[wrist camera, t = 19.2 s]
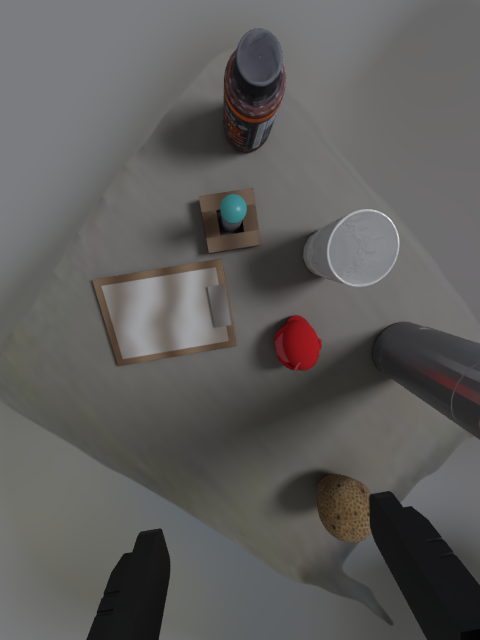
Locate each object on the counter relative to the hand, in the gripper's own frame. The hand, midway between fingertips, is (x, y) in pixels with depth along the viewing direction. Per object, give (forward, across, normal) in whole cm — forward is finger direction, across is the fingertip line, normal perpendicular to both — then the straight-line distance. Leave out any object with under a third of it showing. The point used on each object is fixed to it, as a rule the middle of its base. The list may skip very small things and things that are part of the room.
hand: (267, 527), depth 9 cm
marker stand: (+29, -1, -15) cm, 33 cm away
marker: (+29, -1, -15) cm, 33 cm away
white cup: (+29, -14, -9) cm, 34 cm away
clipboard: (+29, +10, -4) cm, 30 cm away
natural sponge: (+29, -13, +31) cm, 44 cm away
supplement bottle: (+29, -5, -26) cm, 39 cm away
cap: (+29, -8, +3) cm, 31 cm away
